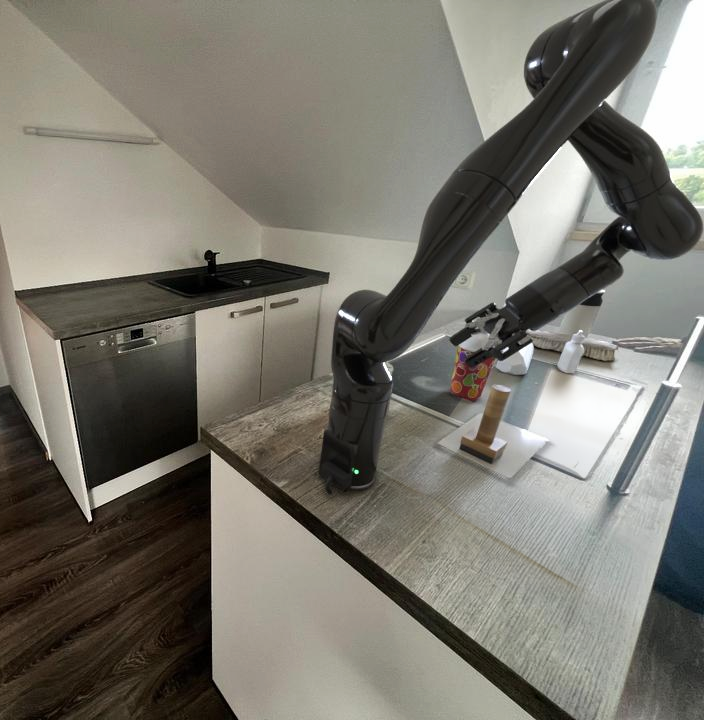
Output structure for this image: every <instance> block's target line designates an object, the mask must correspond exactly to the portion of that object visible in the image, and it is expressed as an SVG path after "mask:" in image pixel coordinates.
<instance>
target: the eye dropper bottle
mask: <svg viewBox="0 0 704 720" xmlns="http://www.w3.org/2000/svg"><path fill="white" fill-rule="evenodd" d="M583 339H584V336H583V335H582V331H579V332H578V333H577V334H574V335H573V337H572V339H571V342H567V343H566V344H565V346H564V349H563V351H562V352H561V355H560V356H559V360H558V362H557V365H556V366H557V369H558V370H559V371H561V372H563V373H565V374H575V373H576V371H577V368H578V367H579V364H580V361H581V359H582V357H583V356H582V354H583V351H584V348H583V345H582V344H581V343H582V342H583Z"/></svg>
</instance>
